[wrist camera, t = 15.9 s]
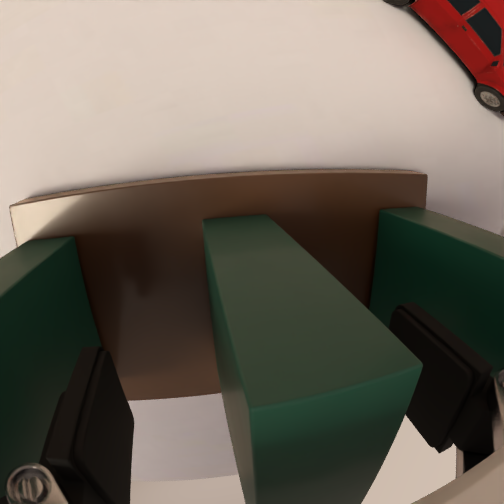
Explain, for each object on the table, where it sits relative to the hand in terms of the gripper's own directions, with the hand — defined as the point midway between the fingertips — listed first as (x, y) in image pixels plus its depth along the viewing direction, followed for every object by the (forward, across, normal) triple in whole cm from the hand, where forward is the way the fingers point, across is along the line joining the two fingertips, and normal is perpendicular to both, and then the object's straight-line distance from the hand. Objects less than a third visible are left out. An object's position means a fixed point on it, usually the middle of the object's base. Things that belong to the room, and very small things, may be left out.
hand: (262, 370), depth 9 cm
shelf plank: (+6, 0, 0) cm, 6 cm away
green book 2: (+4, 0, 0) cm, 4 cm away
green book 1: (+4, +7, 0) cm, 8 cm away
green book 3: (+4, -7, 0) cm, 8 cm away
